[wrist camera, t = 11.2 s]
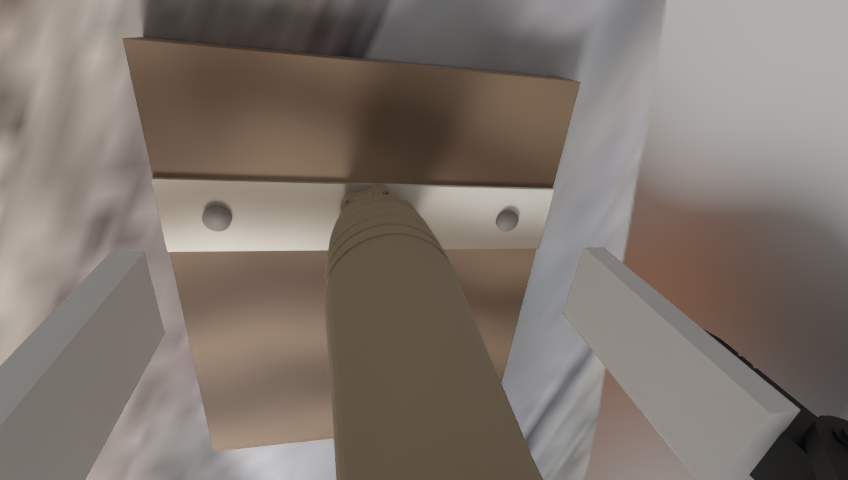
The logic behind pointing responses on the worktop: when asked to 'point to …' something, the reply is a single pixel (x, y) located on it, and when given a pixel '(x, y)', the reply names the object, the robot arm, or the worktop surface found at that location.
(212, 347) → the board
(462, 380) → the handle
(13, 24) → the worktop surface
